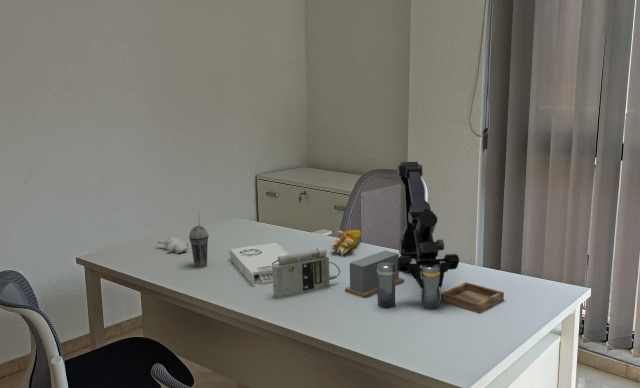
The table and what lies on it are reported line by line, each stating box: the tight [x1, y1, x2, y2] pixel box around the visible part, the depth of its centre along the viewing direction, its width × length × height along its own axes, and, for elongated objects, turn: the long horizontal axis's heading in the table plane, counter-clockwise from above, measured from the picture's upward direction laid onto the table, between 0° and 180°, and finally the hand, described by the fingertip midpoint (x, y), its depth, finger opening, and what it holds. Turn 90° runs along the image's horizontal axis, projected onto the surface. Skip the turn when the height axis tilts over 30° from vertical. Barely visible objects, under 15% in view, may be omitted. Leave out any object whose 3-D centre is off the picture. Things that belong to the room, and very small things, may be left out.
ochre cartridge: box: [420, 263, 441, 311], centre depth 200 cm, size 6×6×13 cm
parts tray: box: [439, 281, 505, 314], centre depth 205 cm, size 14×14×3 cm
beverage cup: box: [188, 214, 209, 269], centre depth 245 cm, size 7×7×20 cm
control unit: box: [344, 250, 405, 299], centre depth 219 cm, size 20×9×10 cm, turn 134°
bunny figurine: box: [156, 236, 189, 254], centre depth 269 cm, size 10×5×15 cm
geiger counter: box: [272, 246, 341, 299], centre depth 218 cm, size 14×6×25 cm
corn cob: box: [330, 229, 362, 257], centre depth 263 cm, size 8×8×25 cm
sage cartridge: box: [377, 262, 396, 309], centre depth 203 cm, size 6×6×13 cm
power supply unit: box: [229, 242, 291, 287], centre depth 242 cm, size 19×33×5 cm, turn 21°
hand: (431, 287), depth 199 cm, fingers closed on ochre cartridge, 5 cm apart
